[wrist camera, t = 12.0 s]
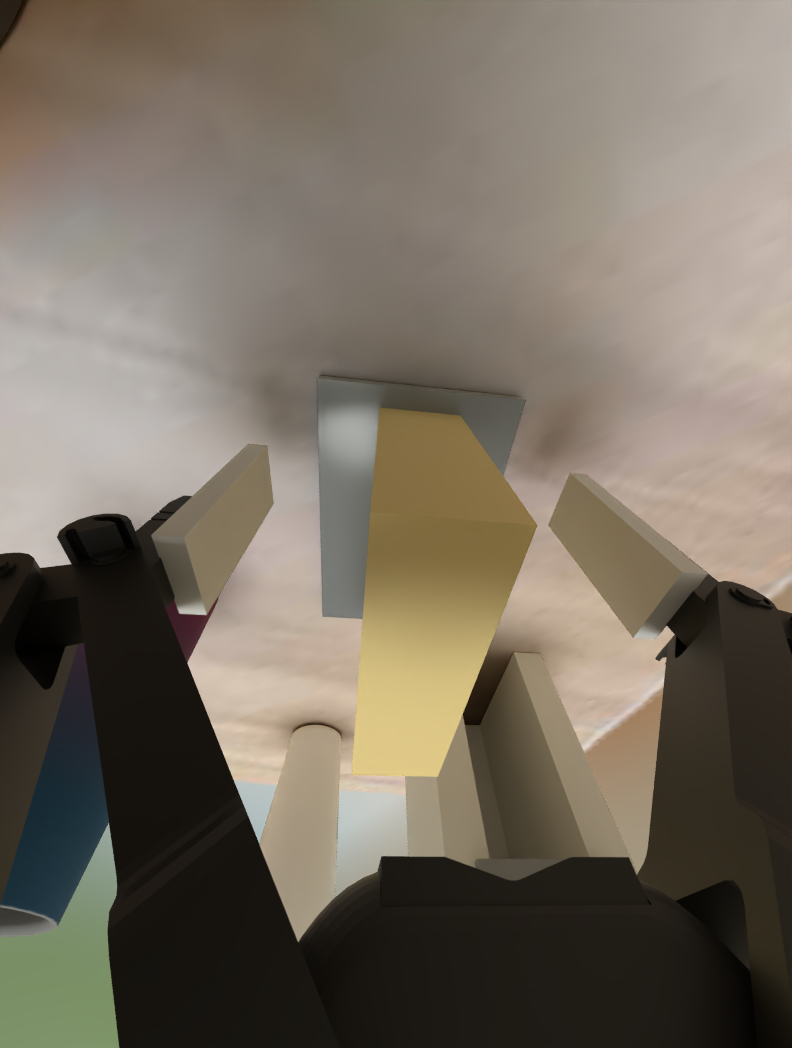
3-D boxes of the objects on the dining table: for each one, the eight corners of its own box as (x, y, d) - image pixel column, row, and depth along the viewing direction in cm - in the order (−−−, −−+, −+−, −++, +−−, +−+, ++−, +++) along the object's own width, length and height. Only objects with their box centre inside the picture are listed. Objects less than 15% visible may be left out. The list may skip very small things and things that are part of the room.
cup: (109, 552, 21) (-295, 899, 9) (215, 550, 21) (-31, 890, 9) (150, 623, 25) (-90, 940, 12) (241, 622, 25) (94, 934, 13)
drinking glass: (337, 713, 32) (305, 969, 20) (357, 745, 36) (341, 979, 23) (273, 723, 33) (202, 976, 21) (299, 753, 37) (252, 984, 24)
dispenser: (424, 643, 27) (452, 900, 15) (542, 649, 28) (657, 899, 16) (403, 732, 35) (411, 949, 23) (496, 735, 35) (550, 946, 24)
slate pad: (319, 375, 16) (316, 378, 15) (520, 396, 17) (525, 400, 16) (324, 608, 25) (322, 616, 24) (456, 615, 25) (458, 623, 25)
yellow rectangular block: (379, 407, 16) (370, 512, 8) (460, 415, 16) (537, 525, 8) (364, 609, 24) (351, 774, 15) (420, 612, 24) (437, 776, 15)
